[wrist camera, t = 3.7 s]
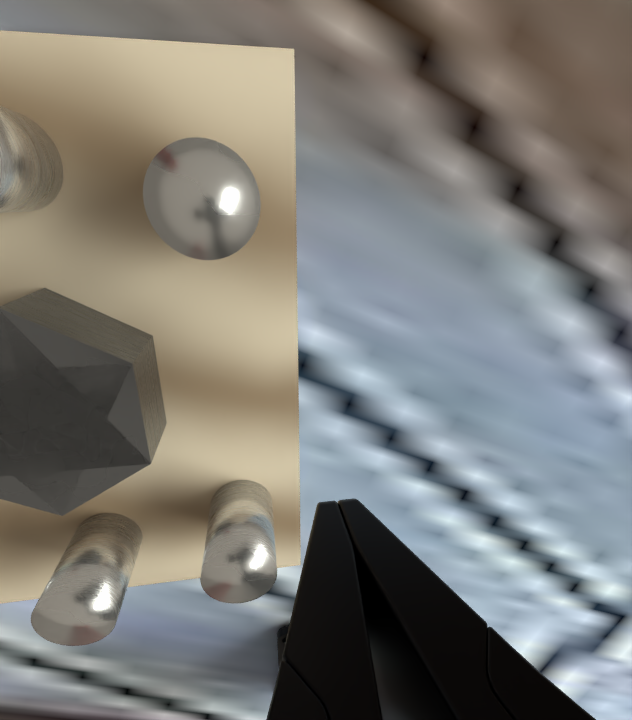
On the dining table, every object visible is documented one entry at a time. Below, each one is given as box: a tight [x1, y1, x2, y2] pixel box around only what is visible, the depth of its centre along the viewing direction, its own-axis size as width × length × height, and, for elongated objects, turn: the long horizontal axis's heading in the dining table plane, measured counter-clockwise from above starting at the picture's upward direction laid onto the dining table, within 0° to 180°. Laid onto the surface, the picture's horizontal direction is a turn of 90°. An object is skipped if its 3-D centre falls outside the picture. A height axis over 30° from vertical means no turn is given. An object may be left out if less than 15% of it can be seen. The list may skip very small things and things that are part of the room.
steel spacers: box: [0, 106, 277, 646], centre depth 12 cm, size 17×14×4 cm
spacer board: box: [0, 31, 301, 603], centre depth 14 cm, size 20×15×1 cm
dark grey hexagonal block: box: [0, 288, 167, 516], centre depth 12 cm, size 7×6×2 cm
